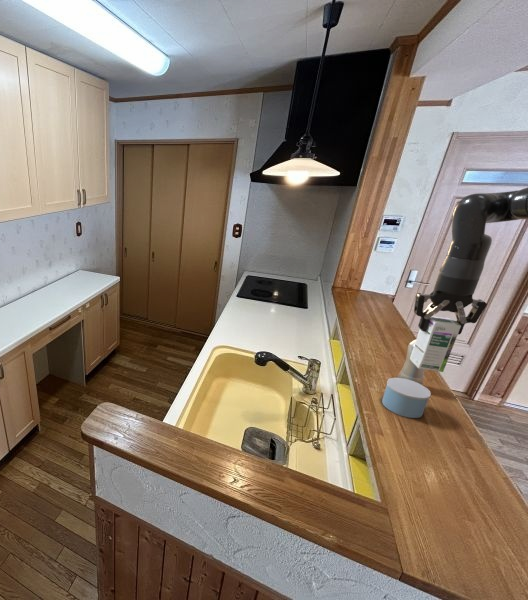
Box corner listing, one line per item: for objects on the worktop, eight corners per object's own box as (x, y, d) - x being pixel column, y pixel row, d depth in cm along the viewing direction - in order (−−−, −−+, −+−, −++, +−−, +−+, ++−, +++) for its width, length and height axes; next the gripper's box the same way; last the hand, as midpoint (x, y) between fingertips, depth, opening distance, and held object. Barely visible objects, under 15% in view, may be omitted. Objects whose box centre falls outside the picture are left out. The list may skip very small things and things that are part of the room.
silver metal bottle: (398, 377, 117) (414, 327, 110) (422, 386, 112) (441, 334, 105) (393, 384, 113) (409, 333, 106) (418, 393, 108) (437, 340, 101)
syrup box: (418, 369, 91) (435, 322, 86) (408, 358, 96) (424, 314, 91) (443, 372, 89) (462, 325, 84) (432, 362, 95) (449, 316, 89)
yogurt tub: (417, 402, 104) (424, 382, 101) (428, 422, 95) (436, 401, 93) (378, 393, 108) (383, 374, 106) (385, 412, 100) (391, 392, 97)
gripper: (428, 274, 83) (409, 333, 89) (505, 281, 77) (479, 343, 83) (419, 268, 89) (401, 323, 95) (489, 273, 83) (466, 331, 89)
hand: (438, 332), depth 89 cm, fingers closed on syrup box, 6 cm apart
